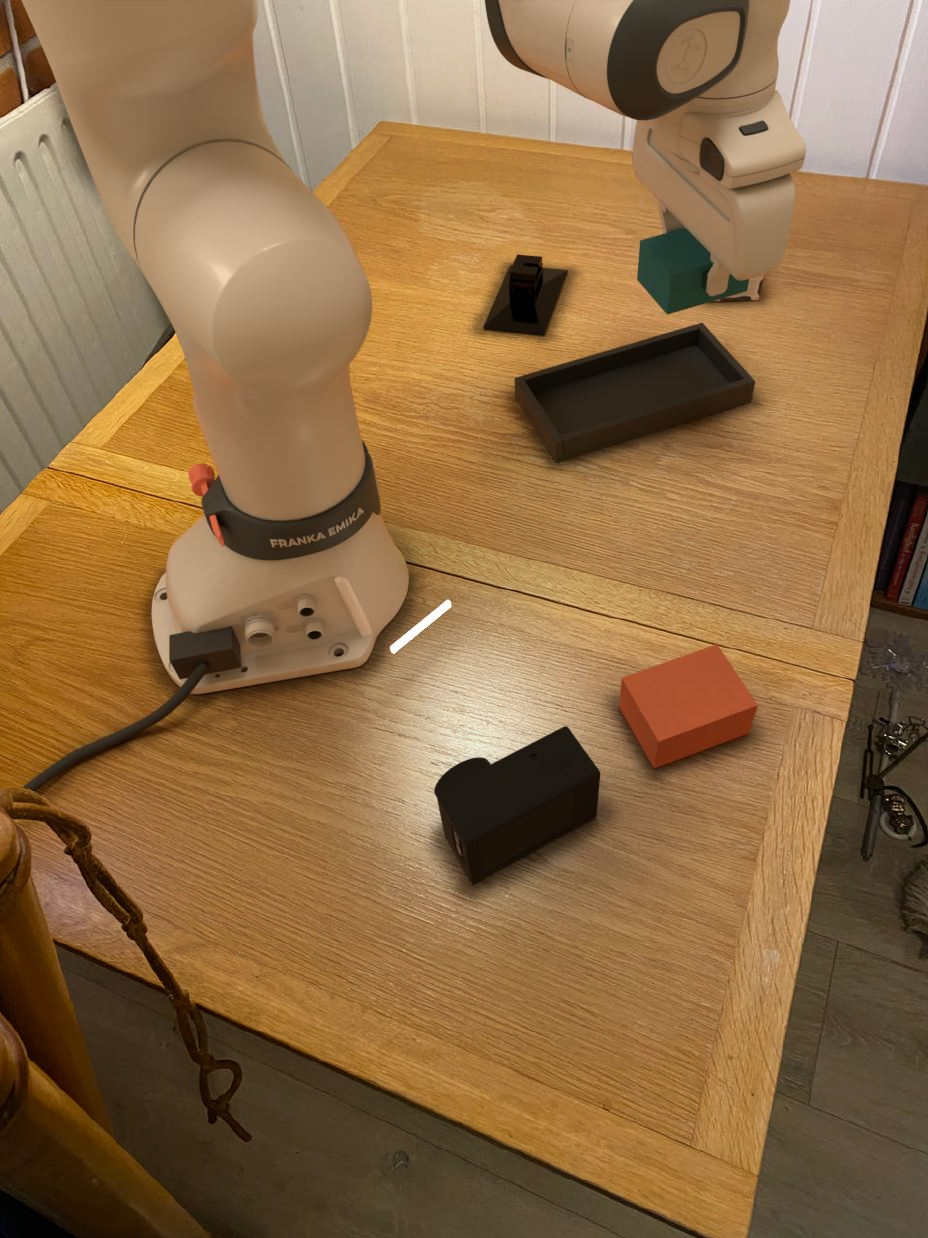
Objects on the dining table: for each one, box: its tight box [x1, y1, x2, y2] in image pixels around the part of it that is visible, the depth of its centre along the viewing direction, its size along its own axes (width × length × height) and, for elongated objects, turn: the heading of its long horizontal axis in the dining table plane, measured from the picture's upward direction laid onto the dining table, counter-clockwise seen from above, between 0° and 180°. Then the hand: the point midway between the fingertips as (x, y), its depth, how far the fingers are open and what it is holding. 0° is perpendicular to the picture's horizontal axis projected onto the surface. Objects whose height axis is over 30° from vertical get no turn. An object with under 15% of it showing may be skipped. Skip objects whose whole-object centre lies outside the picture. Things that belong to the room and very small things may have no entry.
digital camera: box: [433, 725, 601, 886], centre depth 67 cm, size 10×5×7 cm, turn 118°
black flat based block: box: [481, 254, 569, 337], centre depth 107 cm, size 12×7×5 cm, turn 164°
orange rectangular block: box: [618, 643, 759, 770], centre depth 72 cm, size 8×6×4 cm
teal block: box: [636, 228, 749, 316], centre depth 86 cm, size 8×6×4 cm
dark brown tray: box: [513, 322, 756, 464], centre depth 96 cm, size 21×11×3 cm, turn 110°
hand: (693, 269), depth 86 cm, fingers closed on teal block, 6 cm apart
